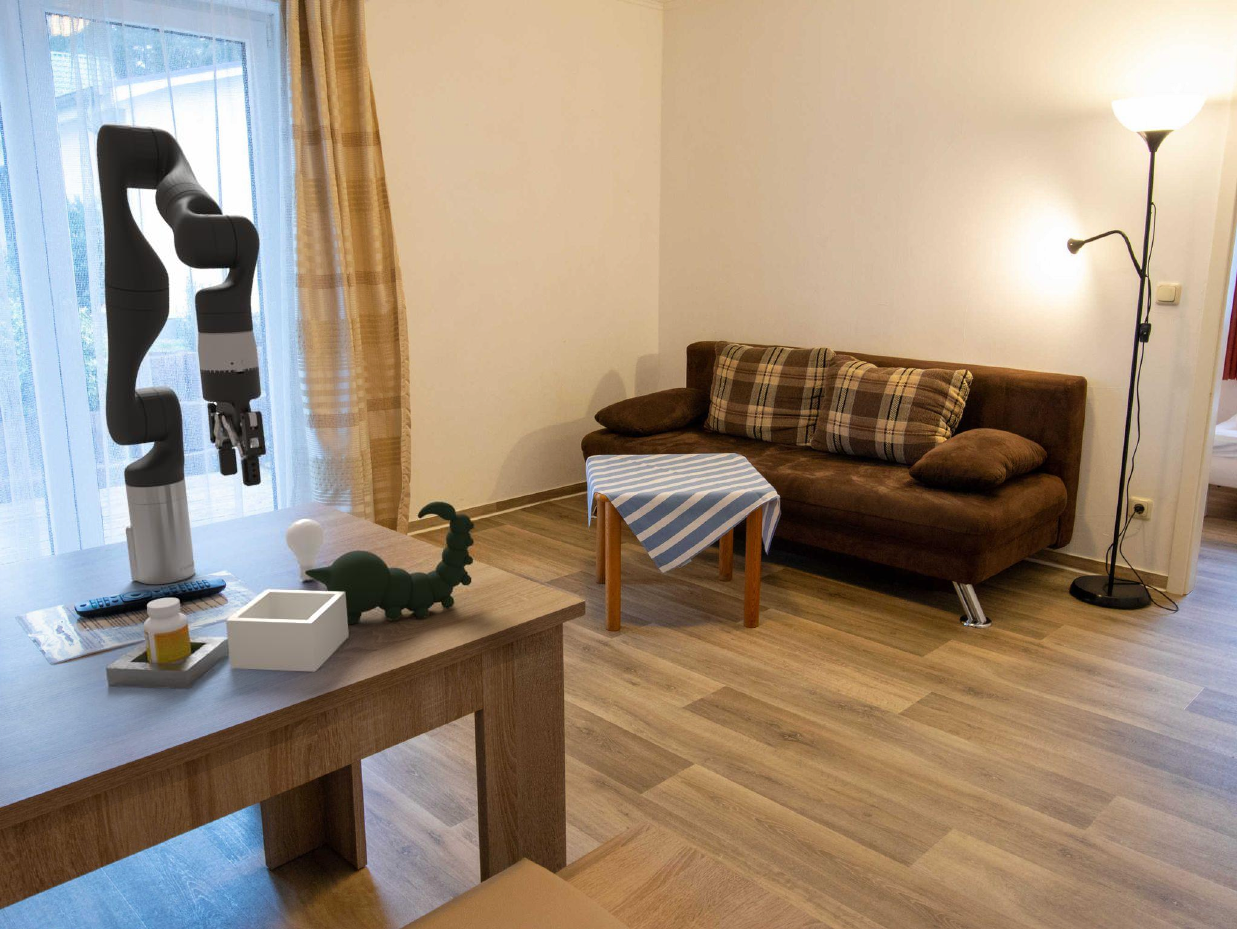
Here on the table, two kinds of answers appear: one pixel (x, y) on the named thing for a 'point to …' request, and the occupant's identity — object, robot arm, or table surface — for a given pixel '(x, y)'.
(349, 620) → the toy figurine
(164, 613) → the supplement bottle
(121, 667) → the socket collar
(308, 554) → the lightbulb
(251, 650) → the bin
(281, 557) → the table surface
